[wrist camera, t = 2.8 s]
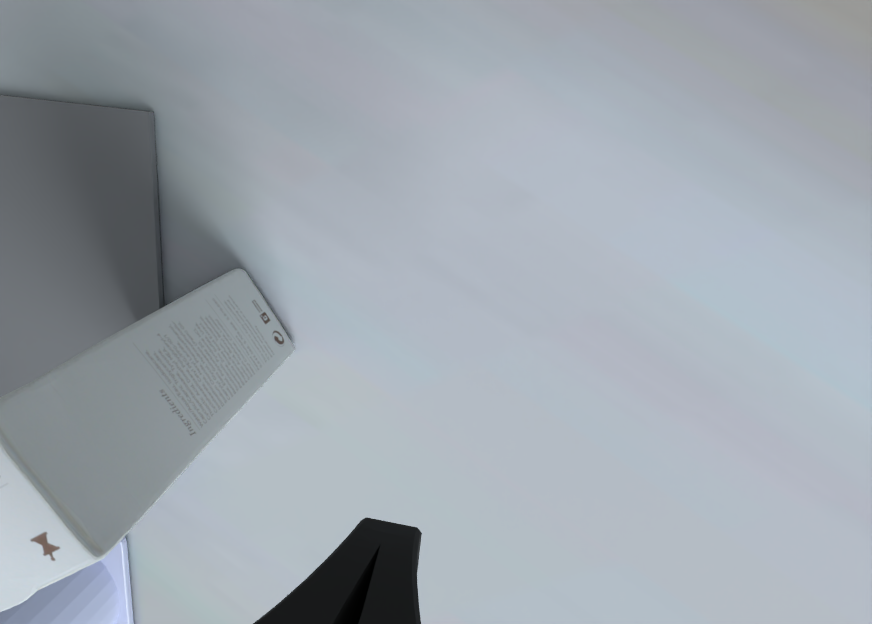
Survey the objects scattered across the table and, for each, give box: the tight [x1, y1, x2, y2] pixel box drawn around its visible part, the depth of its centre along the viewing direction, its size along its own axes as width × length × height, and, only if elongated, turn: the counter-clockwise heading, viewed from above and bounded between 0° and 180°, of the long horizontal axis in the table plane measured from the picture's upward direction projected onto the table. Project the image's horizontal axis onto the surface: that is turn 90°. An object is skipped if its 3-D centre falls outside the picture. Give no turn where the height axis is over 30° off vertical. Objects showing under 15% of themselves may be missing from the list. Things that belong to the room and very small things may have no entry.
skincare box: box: [0, 268, 295, 612], centre depth 18 cm, size 6×4×12 cm
